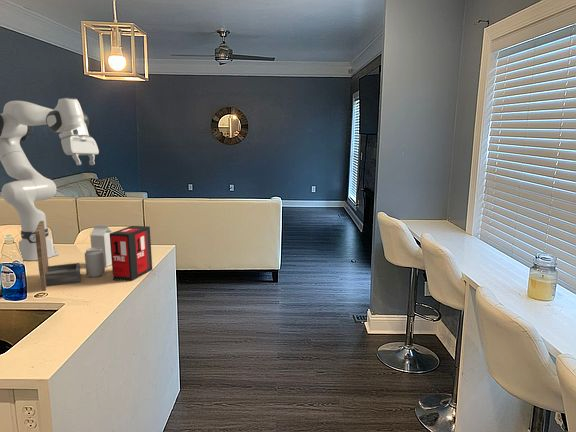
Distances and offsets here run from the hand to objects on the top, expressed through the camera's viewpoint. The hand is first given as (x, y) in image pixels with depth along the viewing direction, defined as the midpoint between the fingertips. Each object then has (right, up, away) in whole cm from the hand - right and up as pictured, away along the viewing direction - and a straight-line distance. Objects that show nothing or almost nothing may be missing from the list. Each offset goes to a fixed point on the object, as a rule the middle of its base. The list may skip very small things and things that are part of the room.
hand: (86, 164), depth 202 cm
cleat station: (-7, -50, -7) cm, 51 cm away
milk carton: (+2, -46, +15) cm, 48 cm away
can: (+5, -49, -1) cm, 49 cm away
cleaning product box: (+21, -48, 0) cm, 53 cm away
